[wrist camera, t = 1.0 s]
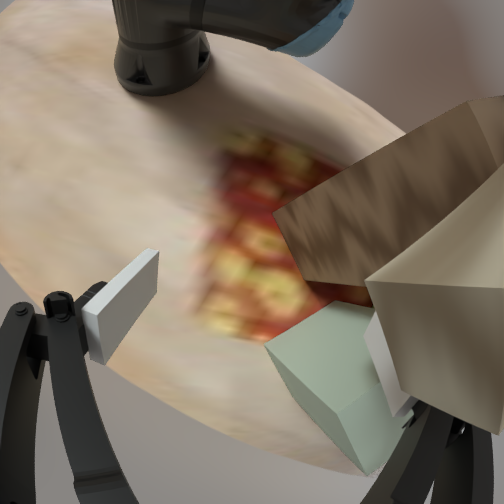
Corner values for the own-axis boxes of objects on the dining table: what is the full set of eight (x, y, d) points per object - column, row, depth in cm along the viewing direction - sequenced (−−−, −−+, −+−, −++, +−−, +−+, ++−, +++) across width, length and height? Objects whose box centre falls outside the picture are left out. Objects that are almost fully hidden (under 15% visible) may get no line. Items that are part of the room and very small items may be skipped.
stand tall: (271, 213, 37) (466, 100, 8) (343, 179, 40) (515, 94, 11) (304, 279, 38) (525, 300, 8) (370, 238, 40) (555, 210, 11)
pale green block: (263, 344, 36) (336, 414, 16) (335, 300, 38) (443, 322, 19) (292, 397, 36) (366, 476, 17) (357, 353, 39) (454, 396, 20)
